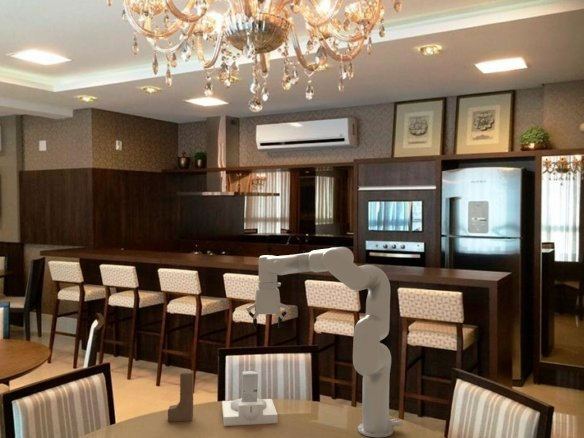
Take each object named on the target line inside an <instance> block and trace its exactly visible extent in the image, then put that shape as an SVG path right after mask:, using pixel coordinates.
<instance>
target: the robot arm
mask: <svg viewBox="0 0 584 438" xmlns="http://www.w3.org/2000/svg"><path fill="white" fill-rule="evenodd" d="M354 260H355V257H354V253H353V252H352V250H351V249H349V247H345V246H338V247H337V246H335V247H330V248H323V249H316V250H315V249H314V250H311V251H309V252H305V253H297V254H289V255H279V256H276V255H271V254H270V255H269V254H267V255H260V256H259V258H258V288H257V289H256V291H255V299H254V303H253V304H251V305H248V307H246V311H247V313H248V315H249V316H250V317H251V318H252V327H254V329H255V330H257V329H258V319H257V317H258V316H259V315H277V316H278V318H277V328H278V329H282V328H281V327H282V326H283V318H284V317H285V316H286V315H287V313H288V312H289V309H290V307H289V306H288V305H285V304H284V303H281V297H280V295H281V294H280V290H279V287H281V285H282V283H281V282H278V276H284V275H289V274H290V275H291V274H297V273H306V272H308V273H309V272H313V273H323V272H328V273H330V274H331V275H332V276H333V277H334V278H336V279H337V280H338V281H340V282H341V284H343V285H344V286H346V287H347V288H348V289H350V290H351V291H356V292H357V291H358V292H359V291H363V290H367V297H366V302H365V315H364V317H362V318H361V319H359V320H358V321H357V323H356V324H355V327H354V330H353V342H352V343H353V344H352V346H353V347H352V364H353V367H354V369H355V371H356V372H357V373H358V374H359V375H360V376H362V401H361V402H362V403H361V404H362V405H361V406H362V411H361V412H362V413H361V414H362V415H361V417H362V418H361V419H362V421H361V422H362V423H360V424H359V425H358V426H357V431H358V433H359V434H361V435H363V436H366V437H368V438H387V437H391V436H392V435H393V434H394V427H402V426H403V422H402V420H397V419H396V418H392V419H391V418H390V405H389V404H390V373H391V366H392V355H391V351H390V349H389V348H388V347H387V345H385V344H384V343H381V342H380V341H382V340H384V339H385V338H386V337H387V336H388V335H389V332H390V319H391V318H390V315H391V307H390V305H391V283H390V280H389V278H388V276H387V274H386V273H385V272H384V271H383V270H382V269H381V268H379V267H378V266H376V265H373V264H363V265H357V264H356V263H354ZM281 308H283V311H282V312H281ZM252 309H254V311H255V312H254V313H253V312H252V311H251V310H252Z"/></svg>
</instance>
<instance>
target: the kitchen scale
mask: <svg viewBox="0 0 584 438" xmlns="http://www.w3.org/2000/svg"><path fill="white" fill-rule="evenodd" d="M241 399H242V397H240V398H236V399H234V400H222V401H221V406H222V407H221V408H222V409H221V410H222V420H223V427H228V426H230V427H231V426H246V425H247V426H249V425H267V424H278V416H279V415H278V412H277V410H276V407H275V405H274V401H273V399H272V398H264V399H263V398H258V397H257V402H241Z"/></svg>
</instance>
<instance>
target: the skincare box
mask: <svg viewBox="0 0 584 438" xmlns="http://www.w3.org/2000/svg"><path fill="white" fill-rule="evenodd" d="M258 379H259V374H258V371H257V370H248V371H246V370H245V371H243V370H242V371H241V398H242V399H241V402H257V398H258Z"/></svg>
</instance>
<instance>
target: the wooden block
mask: <svg viewBox="0 0 584 438" xmlns="http://www.w3.org/2000/svg"><path fill="white" fill-rule="evenodd" d="M194 374H195V373H194V370H181V372H180V375H179V387H180V388H179V402H178V403H177V404H173V405H169V407H168V409H167V421H168V422H192V421H193V418H194Z"/></svg>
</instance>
